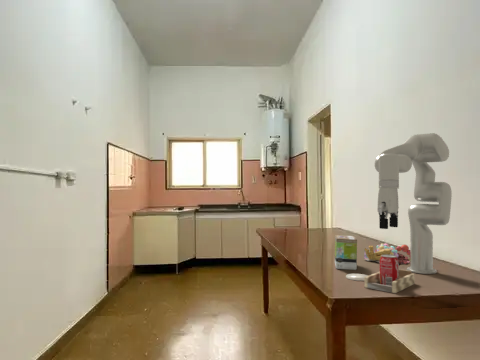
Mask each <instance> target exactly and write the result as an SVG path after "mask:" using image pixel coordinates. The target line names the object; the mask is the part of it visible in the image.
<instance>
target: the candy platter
mask: <svg viewBox="0 0 480 360" xmlns="http://www.w3.org/2000/svg"><path fill="white" fill-rule="evenodd" d="M374 248H375V247H374V245H368V247H364V255H363V259H364V260H365V261H368V262H371V261H372V262H376V263H380V258H381V257H382V256H381V255H384V254H388V255H395V256H397V259H398V264H399V265H402V264H404V265H407V264H409V263H410V248H409V246H408V245H407V244H402V245H401V246H400V245H398V246H396V248H395V246H393V245H389V243H380V244H378V245H376V249H374ZM400 252H403V253H406V254H407V255H408V256H405V255H404V254H402V253H400Z"/></svg>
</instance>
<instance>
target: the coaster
mask: <svg viewBox="0 0 480 360" xmlns="http://www.w3.org/2000/svg"><path fill="white" fill-rule="evenodd" d="M366 276H369V275H368V274H364V273H362V274H361V273H348V274H346V275H345V278H346V279H347V280H351V281H357V282H365V277H366Z"/></svg>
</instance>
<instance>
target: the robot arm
mask: <svg viewBox="0 0 480 360" xmlns="http://www.w3.org/2000/svg"><path fill="white" fill-rule="evenodd" d="M449 157H450V149H449V147H448V145H447V143H446V142H445V141H444V140H443V138H442V137H441V136H440V134H437V133H435V132H434V133H433V132H432V133H420V134H419V133H418V134H413V135H410V136H409V137H408V138H406V140H405V141H404V142H403V143H401V144H399V145H395V146H393V147H390V148H388V149H386V150H383V151H382V152H380V153H379V154H378V156H376V158H375V159H374V160H375V161H374V169H375V170H376V172H378V196H377V212H378V215H379V216H378V218H379V221H378V222H379V224H378V225H379V229H381V230H388V229H389V227H390V228H398V227H399V208H400V207H399V194H398V193H399V192H398V189H400V180H399V179H400V174H404V173H407V172H409V171H410V170H411V169H412V165H413V168H414V171H415V178H414V179H415V180H414V190H413V198H414V199H415V200H416V201H417V202H422V203H415V204H412V205H410V206H409V207H408V210H407V216H408V220H409V228H410V231H409V233H410V236H409V237H410V238H409V239H410V241H409V243H410V244H409V246H410V248H409V250H410V255H409V256H410V257H409V258H410V262H409V263H410V266H407V267H406V270H408V271H411V273H413V274H420V275H421V274H422V275H432V274H433V275H434V274H437V269H436V268H434V267H433V266H434V260H433V259H434V255H433V253H434V252H433V251H434V250H433V249H434V240H433V239H434V237H433V236H434V235H433V232H432V230H431V228H430V227H429V226H446V225H448V224H449V222H450V218H451V207H452V197H453V196H452V194H453V193H452V187H451V185H450V184H449V183H448V182H445V181H436V172H435V170H434V169H433V167H432V166H431V165H430V164H429V163H443V162H446V161H447V160H448V159H449ZM423 202H424V203H423ZM433 203H434V204H433ZM437 203H438V204H437ZM388 217H389V218H388ZM428 225H429V226H428Z"/></svg>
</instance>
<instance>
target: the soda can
mask: <svg viewBox="0 0 480 360" xmlns="http://www.w3.org/2000/svg"><path fill="white" fill-rule="evenodd" d="M381 256H382V257H381V258H380V262H379V272H380V283H379V284H382V285H388V286H392V282H393V281H395V280H397V279H399V269H400V266H399V265H400V264H398V259H397V256H395V255H388V254H384V255H381Z"/></svg>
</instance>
